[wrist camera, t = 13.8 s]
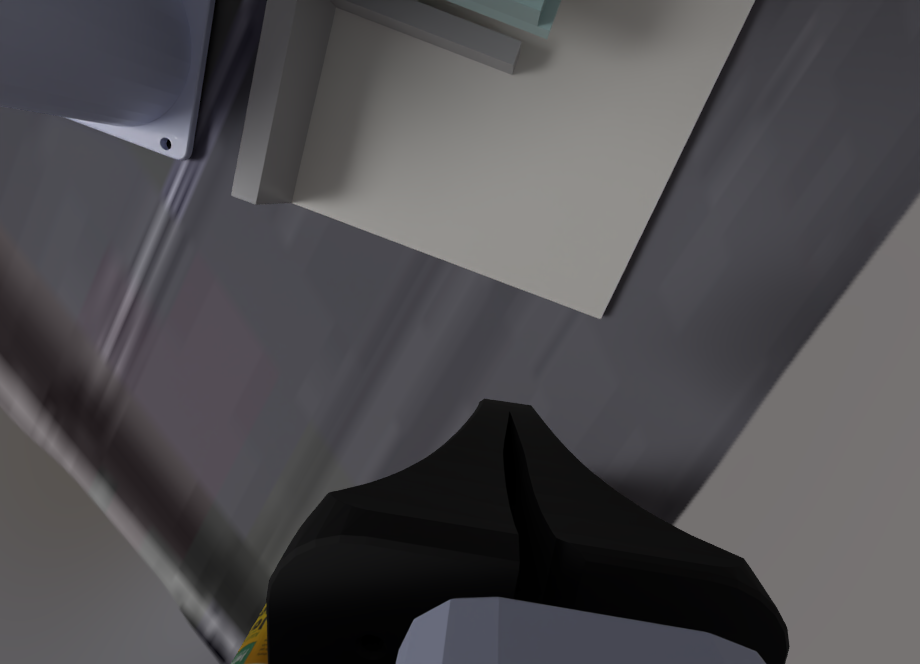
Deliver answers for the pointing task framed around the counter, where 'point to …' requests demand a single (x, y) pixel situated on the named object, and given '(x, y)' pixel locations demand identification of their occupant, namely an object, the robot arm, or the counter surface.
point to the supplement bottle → (255, 643)
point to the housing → (484, 128)
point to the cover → (517, 13)
